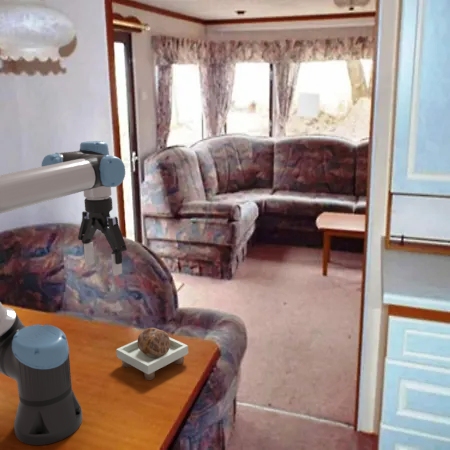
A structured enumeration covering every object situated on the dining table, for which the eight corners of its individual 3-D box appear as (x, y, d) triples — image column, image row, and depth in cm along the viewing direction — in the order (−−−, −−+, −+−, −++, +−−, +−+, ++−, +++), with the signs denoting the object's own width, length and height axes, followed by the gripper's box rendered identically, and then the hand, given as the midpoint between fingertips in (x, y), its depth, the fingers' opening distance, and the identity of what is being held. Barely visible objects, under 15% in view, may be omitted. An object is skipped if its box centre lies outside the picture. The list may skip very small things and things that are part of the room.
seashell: (182, 345, 147) (169, 325, 141) (165, 371, 142) (151, 351, 136) (156, 335, 153) (142, 316, 147) (138, 360, 148) (124, 341, 142)
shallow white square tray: (148, 382, 136) (147, 365, 134) (117, 365, 145) (116, 349, 143) (188, 361, 146) (188, 345, 145) (157, 346, 155) (156, 331, 154)
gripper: (136, 200, 135) (140, 275, 140) (84, 190, 151) (90, 257, 156) (113, 205, 129) (118, 282, 135) (62, 193, 145) (68, 263, 151)
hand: (103, 269), depth 145 cm, fingers open, 13 cm apart
